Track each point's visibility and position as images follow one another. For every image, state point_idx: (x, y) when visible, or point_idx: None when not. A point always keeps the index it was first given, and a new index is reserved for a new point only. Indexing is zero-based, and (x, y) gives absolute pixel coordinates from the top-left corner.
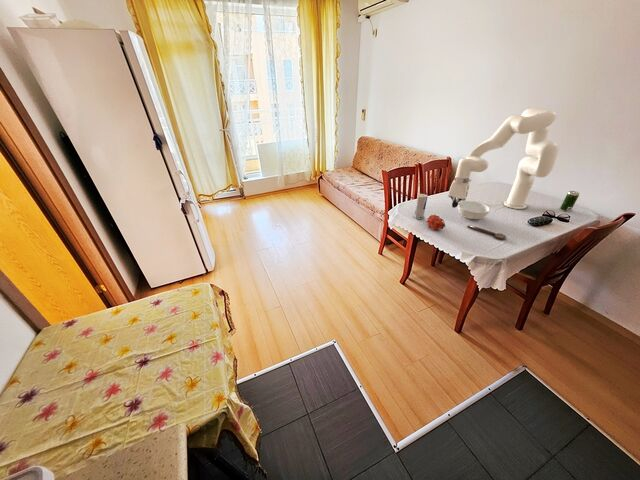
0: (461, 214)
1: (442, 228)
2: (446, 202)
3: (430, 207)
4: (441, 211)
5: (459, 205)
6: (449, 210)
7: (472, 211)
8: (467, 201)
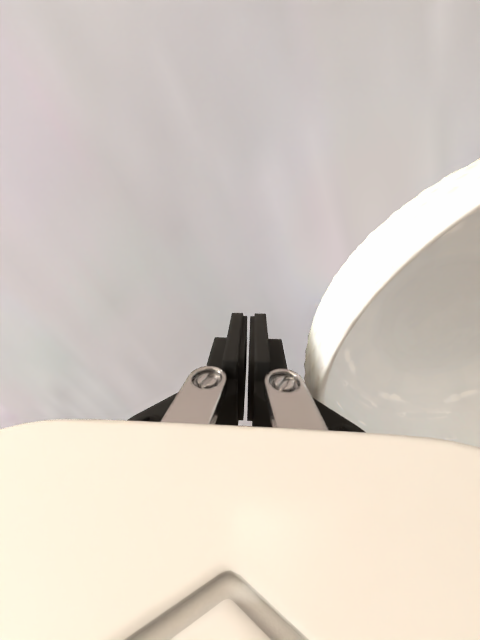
0: (367, 427)
1: None
2: (32, 82)
3: (65, 355)
4: (175, 369)
5: (324, 404)
6: (211, 310)
7: (464, 233)
8: (447, 231)
